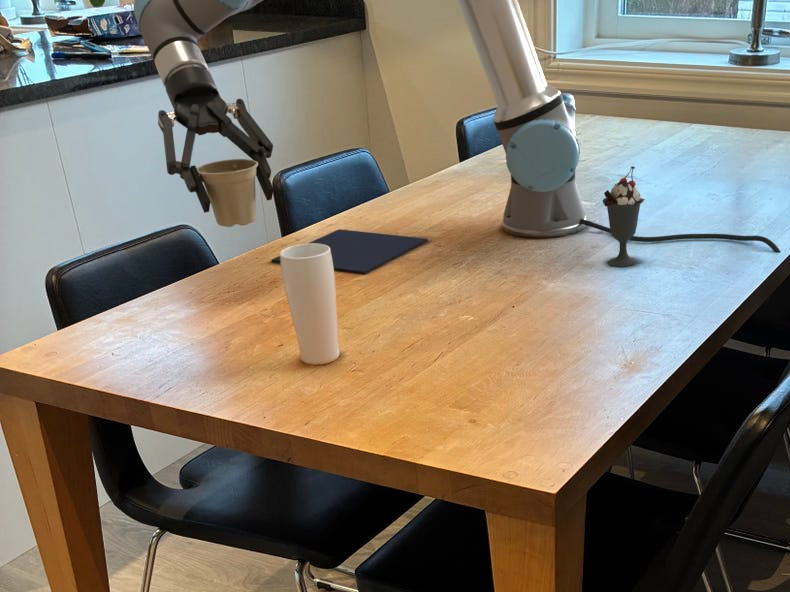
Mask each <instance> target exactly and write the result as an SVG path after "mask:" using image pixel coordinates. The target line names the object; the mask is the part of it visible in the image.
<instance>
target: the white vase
mask: <svg viewBox="0 0 790 592" xmlns="http://www.w3.org/2000/svg"><path fill="white" fill-rule="evenodd" d="M278 256H280V263H279V264H280V270H281V271H280V272H281V277H282V282H283V288H284V291H285V292H284V293H285V295H286V296H285V297H286V299H287V303H288V307H289V312H290V316H291V319H292V322H293V323H292V324H293V328H294V331H295V336H296V340H297V344H298V349H299V357H300V359H301V360H302V362H304V363H306V364H308V365H312V366H313V365H315V366H320V365H326V364H330V363H332V362H334V361H336V360H338V358H339V357H340V353H341V351H340V343H339V330H338V313H337V310H338V309H337V290H336V288H337V287H336V275H335V270H334V266H333V260H332V255H331V249H330V247H329V246H327V245H324V244H317V243H310V242H308V243H300V244H295V245H291V246H288V247H286V248H283V249H282V250H281V251H280V252H279V255H278Z"/></svg>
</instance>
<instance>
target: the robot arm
mask: <svg viewBox="0 0 790 592" xmlns="http://www.w3.org/2000/svg"><path fill="white" fill-rule="evenodd" d="M263 1H264V0H134V3H133V14H134V16H135V20H136V23H137V25H138V30H139V33H140V35H141V37H142V38H143V40H144V42H145V44H146V47H147V49H148V52H149V54H150V56H151V58H152V60H153V63H154V66H155V68H156V70H157V72H158V75H159V77H160V78H159V79H161V82H162V84H163V87H164V88H165V93H166V94H167V97H168V99H169V101H170V104H171V106H172V109H173V111H170V112H169V111H168V112H166V110H163V109H160V110H159V111H158V113H157V115H158V116H157V125H158V127H159V129H160V131H161V132H162V138H163V144H164V145H163V147H164V155H165V164H166V172H167V174H168V175H170V176H173V175H177V174H178V175H179V178H180V179H181V180H183V181H184V184H185V186H186V188H187V190H188V192H189V193H196V194H195V195H196V196H197V199H198V201H199V203H200V206H201V209H202V211H203V213H209V212H210V208H211V203H210V202H211V201H210V199H209V197H208V194H207V191H206V188H205V185H204V183H203V182H202V180H201V178H200V175H199V173H198V171H197V168H198V167H197V166H196V165H191V161H192V156H193V151H194V145H195V140H196V135H198V136H203V135H206V134H215V133H218V134H220V136H222V137H223V138H227V139H228V140H229V141H230V142H231V143H233V145H235V146H236V147H237V148H238V149H240V151H242V152H243V153H244V154H246V155H247V156H248V157H249V158H250V160H254V161H257V162H258V166H257V167H256V176H255V177H256V179H257V181H258V183H259V186H260V188H261V190H262V192H263V195H264V197H265V200H266V201H272V199H273V195H274V190H275V189H274V186H273V184H272V181H271V180H270V178H271V176H272V169H271V167H270V164H269V162H268V160H267V159H271V157H272V154H273V149H274V144H273V142H272V141H271V140H270V139H269V137H268V136H267V135H266V133H265V132H264V130H263V129H262V128H261V127H260V126H259V124H258V123H257V121H255V119H254V118H253V116H252V115H251V113H249V112H248V110H247V107H246V104H245V101H244V99H242V98H237V99H236V100H235V102H226V101H225V100H224V99H223V98H222V97H221V95H220V92H219V90H218V87H217V85H216V83H215V80H214V78H213V76H212V74H211V72H210V68H209V66H208V64H207V62H206V60H205V57H204V56H203V53H202V51H201V48H200V46H199V44H198V40H199V39H200V38H202V37H203V36H205V35H206V34H207V33H208V32H209V31H211V30H212V29H214V28H215V27H216V26H218V25H219V24H220V23H222V22H223V21H224V20H226V19H227V18H229V17H231V16H234V15H236V14H239V13H242V12H246V11H248V10H250V9H252V8H254V7H255V6H256V5H257V4H259V3H261V2H263ZM457 2H458V5H459V8H460V10H461V13H462V15H463V18H464V21H465V23H466V26H467V29H468V31H469V34H470V37H471V40H472V42H473V44H474V48H475V50H476V53H477V55H478V58H479V60H480V63H481V65H482V68H483V71H484V73H485V75H486V76H485V77H486V80H487V81H488V84H489V86H490V89H491V92H492V95H493V97H494V101H495V103H496V109H495V112H494V115H493V117H492V120H493V124H494V126H495V128H496V132H497V134H498V138H499V139H500V143H501V145H502V147H503V150H504V152H505V161H506V162H505V163H506V167H507V170H508V172H509V174H510V189H509V193H508V198H507V201H506V204H505V208H504V212H503V215H502V229H503V230H504V232H505V233H508V234H509V235H513V236H516V237H521V238H522V237H524V238H554V237H561V236H566V235H571V234H574V233H577V232H580V231H581V230H583V229H584V228H585V227H586V226H587V227H591V228H593V229H596V230H599V231H602V232H605V233H608V234H611V230H610V227H609V226H608V227H607V226H604V225H602V224H599V223H597V222H593V221H591V220H590V221H589V220H588V219H587V216H586V211H585V207H584V204H583V201H582V198H581V195H580V192H579V188H578V186H577V181H576V169H577V167H578V164H579V161H580V154H581V149H580V143H579V141H578V138H577V134H576V112H577V107H576V106H575V105H576V103H575V97H574V96H573V95H572V94H571V93H569V92H561V91H560V89H558V88H556V87H554V86H552V85H550V84H548V83H547V80H546V77H545V74H544V71H543V68H542V66H541V63H540V60H539V57H538V54H537V51H536V48H535V46H534V43H533V40H532V37H531V34H530V32H529V29H528V26H527V23H526V20H525V18H524V15H523V12H522V8H521V7H520V3H519V0H457ZM228 113H229V114H231V116H232V117H233V119H235V120H237V122H238V125H240V127H241V128H242V129H243V130H242V129H241V128H239V127H238V126H237V125H236V124H234V122H233V121H232V119H231V117H229V116H228ZM175 121H176V122H177V123H179V124H180V125H181V126H183V127H184V128H185V129H186V134H185V139H184V145H183V150H182V156H181V160H180V161H179V160H177V158H176V149H175V147H176V146H175V139H174V131H173V128H174V127H175ZM678 240H730V241H739V242H762V243H764V244H766V245H767V246H768V247H769V248H770V249H771V250H772V251H773V252H774V253H776V254H779V253H781V249H780V248H779V247H778V246H777V245H776V243H774V242H773V241H772V240H771V239H769V238H768V237H765V236H762V235H739V234H727V233H683V234H682V233H678V234H670V235H669V234H668V235H658V236H638V235H633V237H632V238H631V239H629V240H628V241H630V242H639V243H658V242H668V241H678Z"/></svg>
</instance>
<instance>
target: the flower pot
mask: <svg viewBox="0 0 790 592" xmlns="http://www.w3.org/2000/svg"><path fill="white" fill-rule="evenodd" d="M257 166H258V162H257V161H254V160H253V159H249V158H231V159H222V160H216V161H211V162H208V163H204V164H202V165H199V166H198V167H196V168H197V171H198V173H199V175H200V178H201V180H202V183H203V185H204V187H205V190H206V192H207V194H208V197H209V199H210V201H211V202H210V207H211V209H212V211H213V214H214V218H215V221H216V224H217V225H218V226H220V227H226V228H232V227H234V226H235V225H237V226H242V227H243V226H247V225H249V224H252V223H254V222H256V221H257V219H258V218H257V217H258V213H257V212H258V211H257V193H256V177H257V176H256V167H257Z"/></svg>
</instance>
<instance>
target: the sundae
mask: <svg viewBox="0 0 790 592" xmlns="http://www.w3.org/2000/svg"><path fill="white" fill-rule="evenodd" d="M635 168H636V167H635V166H630V170H629V171H628V173H627V174H626V175H625V176H624V177H621V178H620V179H619V181H618V182H616V183H615V184H614V185H613V186H612V188H611V190H610V191H609V189H607V190H605V191H604V192H603V194H604V198H603V199H602V204H603V205H604V207H606V209H607V215H608V225H609V228H610V230H611V233H610V235H611V236H612V237H613V238H614V239H615V240H616V241H617V242H618V243H619V249H618V254H617V256H615V257H612V258H610V259H608V261H607V263H608V265H609V266H611V267H617V268H625V267H632V266H636V265H637V264H638V263H639V260H638V259H637V258H636V257H632V256H630V255H629V253H628V251H627V250H628V247H627V244H628V241H630V240H629V239H631V238H632V237H633V236H635V235H636V231H637V229H638V221H639V213H640V209H641V204H642V203H644V202H645V198H642V197H641V193H640V191H639V190H638V189H637V188H636V181H635V180H634V179H633V172H634V169H635ZM630 173H631V178H630V179H631V180H629V181H628V179H627V177H628V176H629V175H630Z"/></svg>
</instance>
